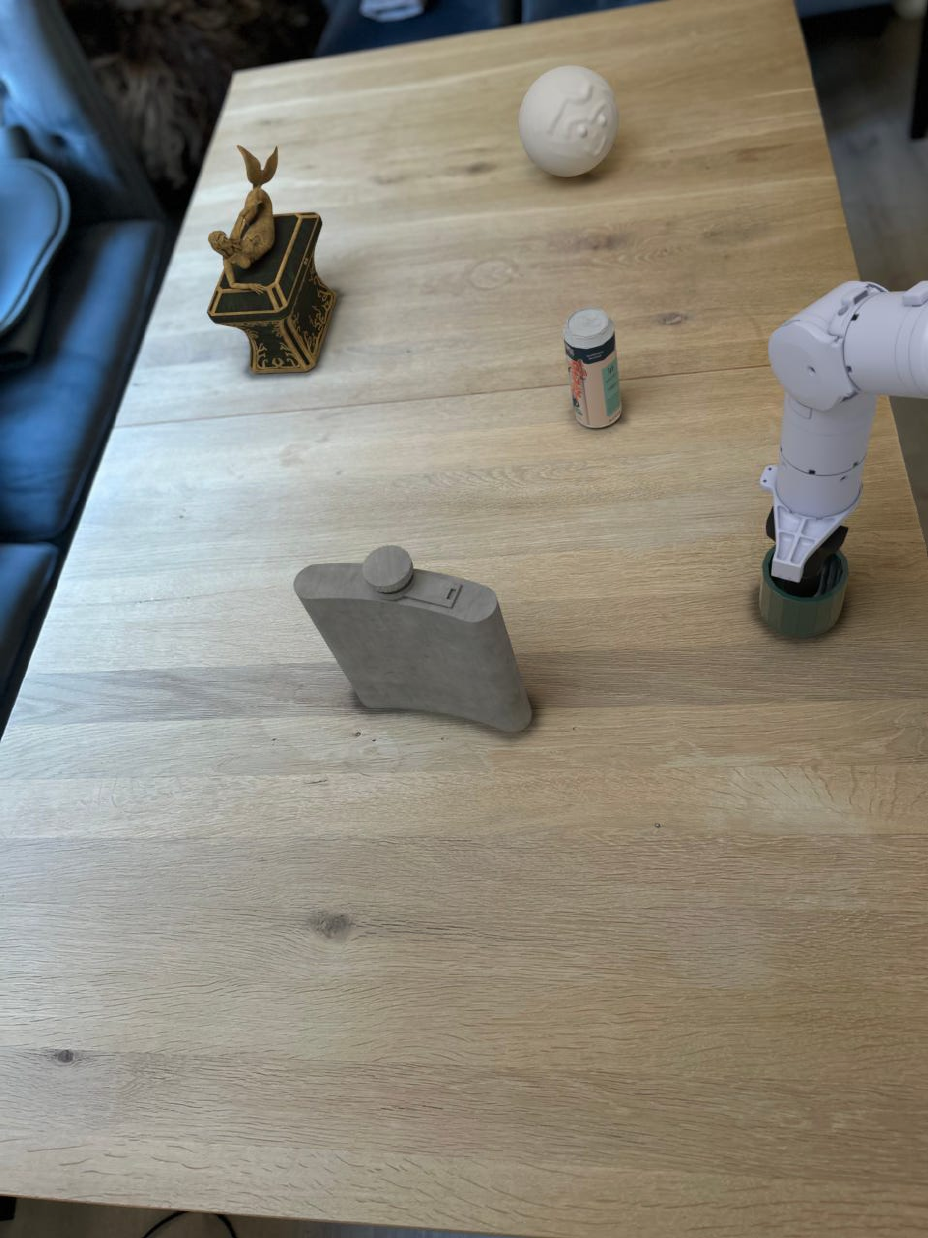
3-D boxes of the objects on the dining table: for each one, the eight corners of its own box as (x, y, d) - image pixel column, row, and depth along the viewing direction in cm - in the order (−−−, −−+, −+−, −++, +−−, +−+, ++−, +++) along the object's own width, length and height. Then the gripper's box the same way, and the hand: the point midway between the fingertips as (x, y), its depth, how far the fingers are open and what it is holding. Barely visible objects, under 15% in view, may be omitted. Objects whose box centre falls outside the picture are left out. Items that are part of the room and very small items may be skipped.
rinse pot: (850, 585, 85) (858, 547, 80) (827, 648, 82) (835, 612, 77) (772, 565, 87) (776, 527, 83) (748, 625, 84) (751, 589, 80)
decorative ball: (559, 210, 120) (547, 116, 110) (508, 168, 127) (492, 76, 117) (641, 165, 122) (636, 69, 112) (586, 126, 128) (576, 32, 118)
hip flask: (354, 705, 88) (274, 576, 72) (369, 666, 90) (295, 531, 73) (526, 736, 83) (483, 605, 67) (538, 693, 85) (499, 556, 68)
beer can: (577, 397, 103) (563, 305, 93) (623, 395, 102) (615, 302, 92) (573, 432, 100) (559, 341, 90) (621, 430, 99) (612, 338, 89)
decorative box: (318, 382, 112) (253, 233, 96) (240, 385, 114) (164, 240, 98) (355, 265, 122) (302, 112, 106) (283, 270, 125) (220, 121, 108)
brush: (823, 576, 82) (832, 525, 76) (813, 603, 81) (822, 553, 75) (789, 568, 83) (795, 516, 77) (779, 594, 82) (785, 544, 76)
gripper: (796, 360, 72) (783, 481, 84) (731, 510, 66) (727, 618, 78) (897, 378, 70) (870, 501, 81) (839, 536, 64) (819, 644, 75)
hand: (806, 560), depth 79 cm, fingers closed on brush
